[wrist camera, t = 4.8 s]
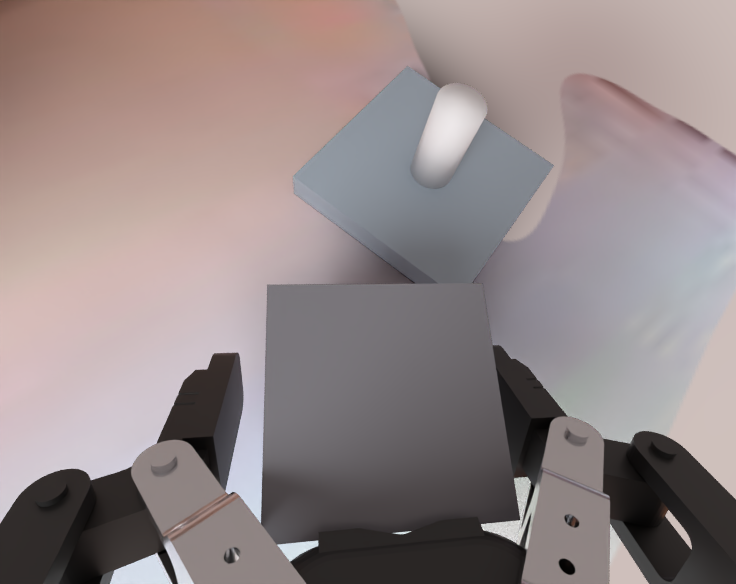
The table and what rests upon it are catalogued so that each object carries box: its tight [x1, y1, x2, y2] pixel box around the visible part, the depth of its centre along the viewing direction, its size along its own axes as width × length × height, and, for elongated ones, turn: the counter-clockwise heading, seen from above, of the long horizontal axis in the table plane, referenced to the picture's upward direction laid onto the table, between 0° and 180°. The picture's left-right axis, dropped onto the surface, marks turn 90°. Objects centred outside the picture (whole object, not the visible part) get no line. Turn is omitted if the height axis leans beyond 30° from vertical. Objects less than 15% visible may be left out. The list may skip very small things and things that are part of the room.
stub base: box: [293, 66, 554, 284], centre depth 19 cm, size 10×10×6 cm
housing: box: [261, 283, 520, 544], centre depth 13 cm, size 5×5×10 cm
